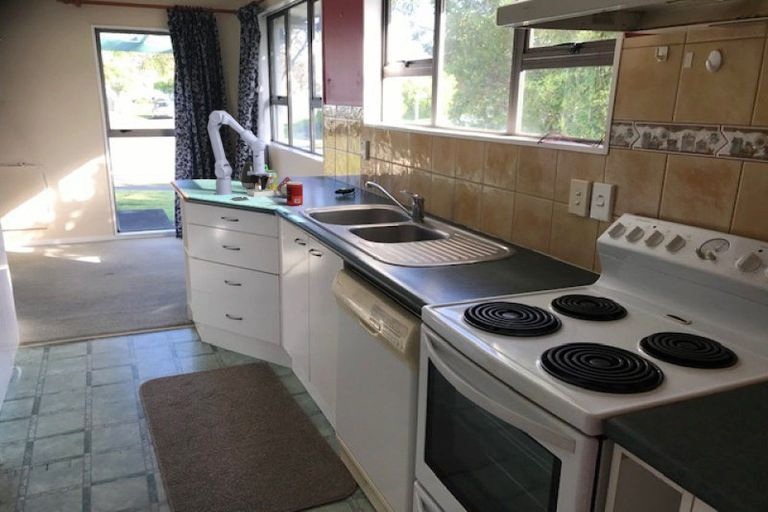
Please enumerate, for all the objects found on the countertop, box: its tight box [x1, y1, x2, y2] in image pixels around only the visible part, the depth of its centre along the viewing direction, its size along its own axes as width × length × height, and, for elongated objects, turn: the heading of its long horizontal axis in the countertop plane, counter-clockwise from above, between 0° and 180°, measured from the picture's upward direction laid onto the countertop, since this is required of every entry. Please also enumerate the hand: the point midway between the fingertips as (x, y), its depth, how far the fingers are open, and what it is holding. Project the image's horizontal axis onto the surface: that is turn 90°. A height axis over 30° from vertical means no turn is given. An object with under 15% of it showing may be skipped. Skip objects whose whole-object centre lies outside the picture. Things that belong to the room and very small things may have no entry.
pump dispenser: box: [240, 161, 255, 189], centre depth 336 cm, size 10×10×15 cm
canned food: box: [285, 181, 304, 207], centre depth 282 cm, size 8×8×11 cm
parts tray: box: [246, 188, 275, 198], centre depth 310 cm, size 11×11×3 cm
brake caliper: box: [274, 176, 294, 199], centre depth 303 cm, size 11×11×12 cm
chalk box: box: [256, 164, 279, 192], centre depth 325 cm, size 9×9×15 cm
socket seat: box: [229, 196, 250, 202], centre depth 294 cm, size 8×8×1 cm
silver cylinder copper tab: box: [254, 182, 263, 192], centre depth 308 cm, size 4×4×6 cm
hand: (260, 189), depth 309 cm, fingers closed on silver cylinder copper tab, 4 cm apart
